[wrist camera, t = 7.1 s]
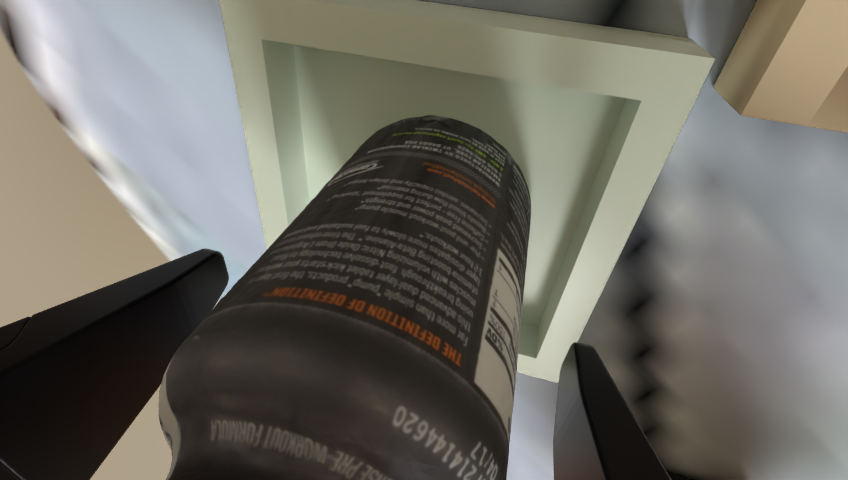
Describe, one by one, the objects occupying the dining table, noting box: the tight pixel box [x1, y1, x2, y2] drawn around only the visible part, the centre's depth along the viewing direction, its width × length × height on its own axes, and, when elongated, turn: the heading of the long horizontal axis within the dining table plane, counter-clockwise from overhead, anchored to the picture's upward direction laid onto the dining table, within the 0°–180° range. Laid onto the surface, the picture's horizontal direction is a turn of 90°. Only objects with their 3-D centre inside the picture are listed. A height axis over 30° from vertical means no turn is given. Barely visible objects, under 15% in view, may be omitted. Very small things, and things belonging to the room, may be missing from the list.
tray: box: [219, 0, 715, 383], centre depth 13 cm, size 11×11×2 cm
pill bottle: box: [159, 115, 531, 480], centre depth 9 cm, size 6×6×11 cm
